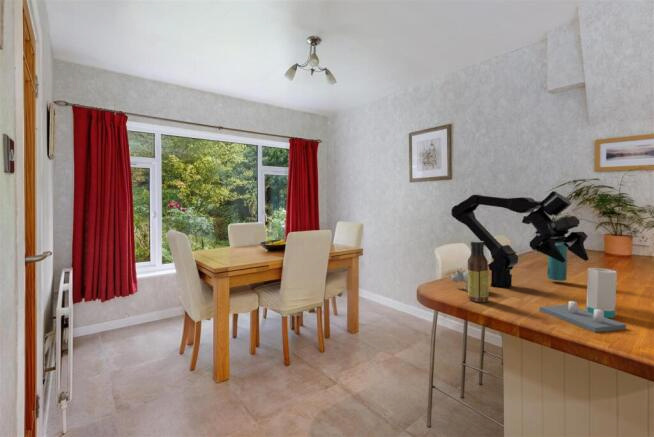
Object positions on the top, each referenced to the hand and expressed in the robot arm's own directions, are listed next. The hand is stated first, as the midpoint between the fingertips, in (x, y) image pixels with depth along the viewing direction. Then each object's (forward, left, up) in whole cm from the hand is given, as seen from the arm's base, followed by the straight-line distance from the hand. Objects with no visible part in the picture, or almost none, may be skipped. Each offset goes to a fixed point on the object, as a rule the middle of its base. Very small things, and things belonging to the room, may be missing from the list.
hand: (576, 261), depth 100 cm
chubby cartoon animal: (-32, +1, -14) cm, 35 cm away
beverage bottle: (-3, +31, -14) cm, 35 cm away
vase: (+5, -6, -14) cm, 16 cm away
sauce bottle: (-27, -11, -14) cm, 32 cm away
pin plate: (0, -15, -14) cm, 20 cm away
